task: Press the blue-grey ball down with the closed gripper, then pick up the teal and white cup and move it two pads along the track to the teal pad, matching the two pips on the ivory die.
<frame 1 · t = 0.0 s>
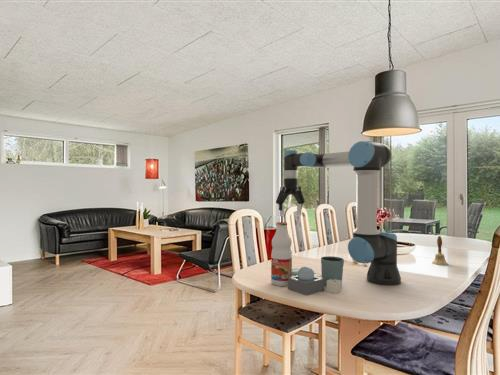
hand: (290, 215, 194), 28 cm above the table, tool pointing down, fingers open, 13 cm apart
teal and white cup: (332, 285, 156), on the table
track board: (304, 276, 170), on the table
die: (333, 291, 147), on the table
hand bell: (439, 264, 200), on the table
blue-grey ball: (305, 274, 149), point 7 cm above the table, slide at 0.0 cm
dome collar: (305, 289, 149), on the table
fruit juice: (281, 284, 158), on the table
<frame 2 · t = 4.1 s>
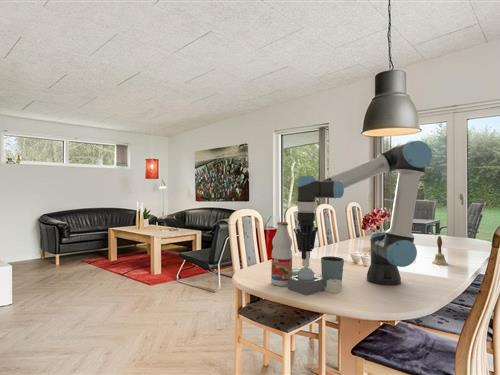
hand: (305, 266, 149), 10 cm above the table, tool pointing down, fingers closed
blue-grey ball: (305, 275, 149), point 6 cm above the table, slide at -0.3 cm, touching gripper
everything else where it was.
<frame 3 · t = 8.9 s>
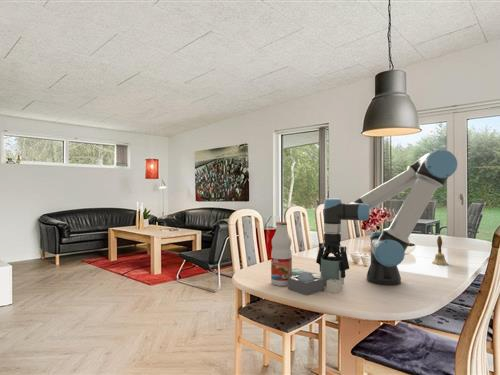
hand: (332, 282, 156), 1 cm above the table, tool pointing down, fingers closed on teal and white cup, 10 cm apart
teal and white cup: (332, 285, 156), on the table, touching gripper
blue-grey ball: (305, 279, 149), point 4 cm above the table, slide at -2.1 cm
everything else where it was.
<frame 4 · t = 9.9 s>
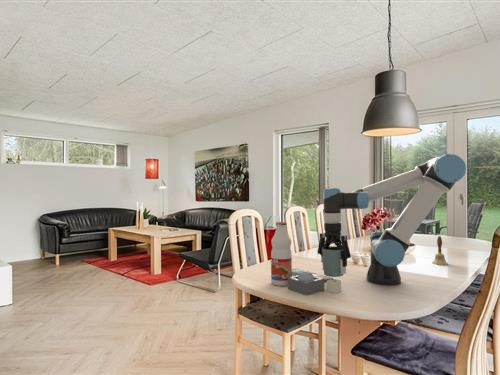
hand: (334, 271, 156), 6 cm above the table, tool pointing down, fingers closed on teal and white cup, 10 cm apart
teal and white cup: (334, 275, 156), point 5 cm above the table, touching gripper
everything else where it was.
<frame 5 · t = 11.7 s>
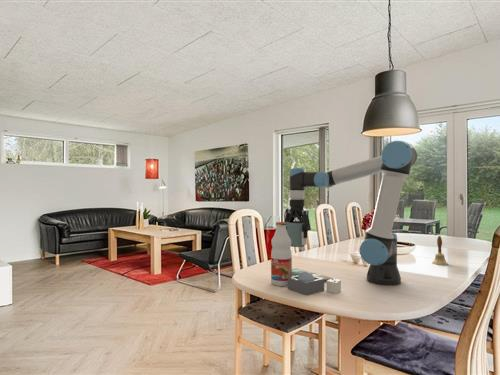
hand: (296, 243, 174), 16 cm above the table, tool pointing down, fingers closed on teal and white cup, 10 cm apart
teal and white cup: (296, 246, 174), point 14 cm above the table, touching gripper
everything else where it was.
when the fingers open (4 cm above the table, at t = 14.5 s): teal and white cup drops 1 cm, resting on track board.
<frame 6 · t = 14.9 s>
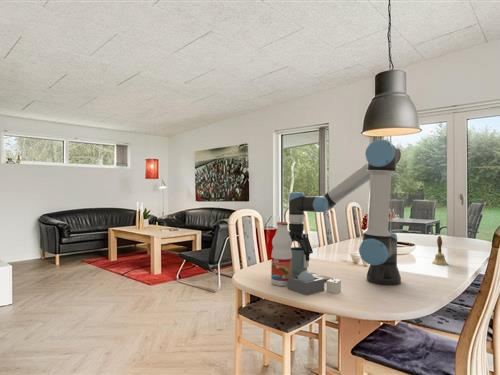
hand: (296, 264, 174), 5 cm above the table, tool pointing down, fingers open, 13 cm apart
teal and white cup: (298, 273, 173), point 1 cm above the table, touching gripper, track board
everything else where it was.
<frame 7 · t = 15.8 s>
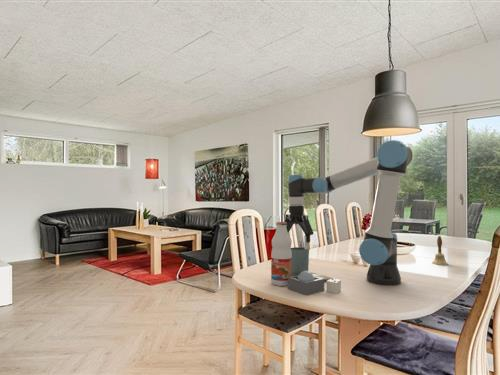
hand: (297, 247, 174), 14 cm above the table, tool pointing down, fingers open, 13 cm apart
teal and white cup: (300, 272, 172), point 1 cm above the table, touching track board
everything else where it was.
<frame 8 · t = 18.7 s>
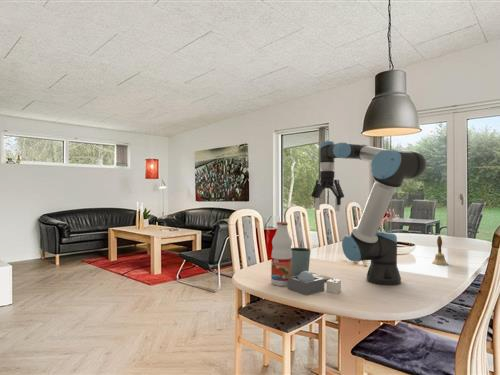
hand: (327, 210, 184), 32 cm above the table, tool pointing down, fingers open, 13 cm apart
at the end: teal and white cup inside the target area (2.8 cm from its centre), point 1.0 cm above the table; teal and white cup tilted 0°; blue-grey ball slide at -2.1 cm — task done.
